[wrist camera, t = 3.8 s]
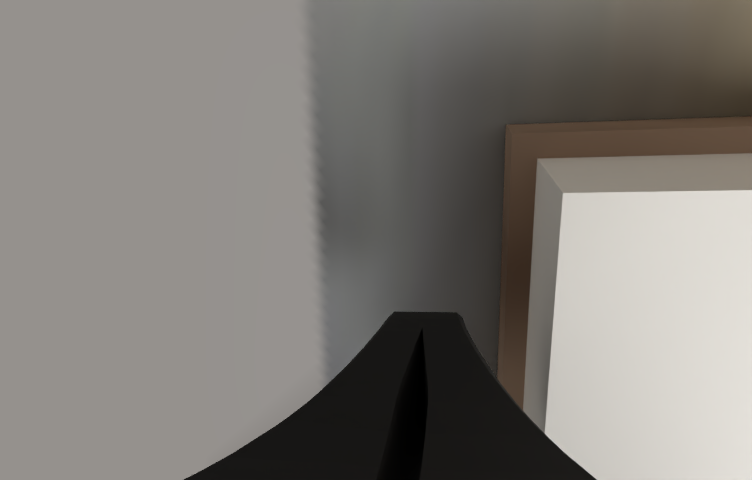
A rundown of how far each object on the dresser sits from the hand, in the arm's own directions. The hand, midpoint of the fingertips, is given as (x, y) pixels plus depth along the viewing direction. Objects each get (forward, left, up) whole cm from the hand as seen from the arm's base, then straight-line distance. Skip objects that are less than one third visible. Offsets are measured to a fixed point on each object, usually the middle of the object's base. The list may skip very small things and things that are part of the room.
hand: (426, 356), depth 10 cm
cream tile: (0, -5, -2) cm, 5 cm away
